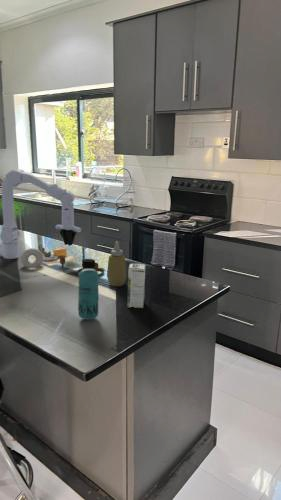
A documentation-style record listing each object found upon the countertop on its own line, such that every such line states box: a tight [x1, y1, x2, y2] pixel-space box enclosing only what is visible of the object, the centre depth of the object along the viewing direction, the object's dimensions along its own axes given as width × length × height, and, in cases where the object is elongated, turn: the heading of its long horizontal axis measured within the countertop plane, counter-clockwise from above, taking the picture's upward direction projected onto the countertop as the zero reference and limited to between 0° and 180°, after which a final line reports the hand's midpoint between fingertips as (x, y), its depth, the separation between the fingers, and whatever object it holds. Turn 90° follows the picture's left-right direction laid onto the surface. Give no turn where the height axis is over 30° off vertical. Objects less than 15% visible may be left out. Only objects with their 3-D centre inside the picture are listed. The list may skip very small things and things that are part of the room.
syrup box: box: [126, 263, 146, 309], centre depth 132 cm, size 6×6×14 cm
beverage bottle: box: [77, 258, 100, 320], centre depth 118 cm, size 6×7×20 cm
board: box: [29, 247, 81, 267], centre depth 185 cm, size 20×17×5 cm
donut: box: [20, 247, 43, 269], centre depth 170 cm, size 10×4×10 cm, turn 112°
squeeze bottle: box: [106, 240, 127, 287], centre depth 152 cm, size 8×8×18 cm
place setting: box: [60, 258, 107, 277], centre depth 170 cm, size 18×20×6 cm
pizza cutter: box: [42, 247, 67, 261], centre depth 185 cm, size 15×10×4 cm, turn 134°
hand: (68, 244), depth 183 cm, fingers closed
